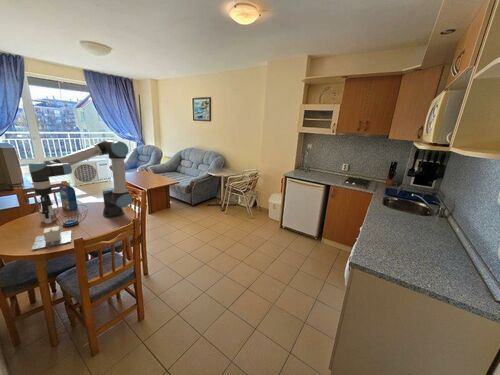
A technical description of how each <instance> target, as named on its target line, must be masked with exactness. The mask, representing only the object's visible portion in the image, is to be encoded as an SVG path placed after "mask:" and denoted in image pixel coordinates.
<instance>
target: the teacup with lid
mask: <svg viewBox="0 0 500 375" xmlns="http://www.w3.org/2000/svg"><path fill="white" fill-rule="evenodd" d="M52 209H53V213H54V215H50V216H51V221H52V222H54V221H56V220H57V219H58V218H57V215H59V209H57V208H54V207H52ZM38 212H39V216H40V220H41V222H42V223H46V222H45V218H44V214H42V213H43V212H42V208H40V209H39V211H38ZM45 212H47V211H45Z"/></svg>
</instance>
